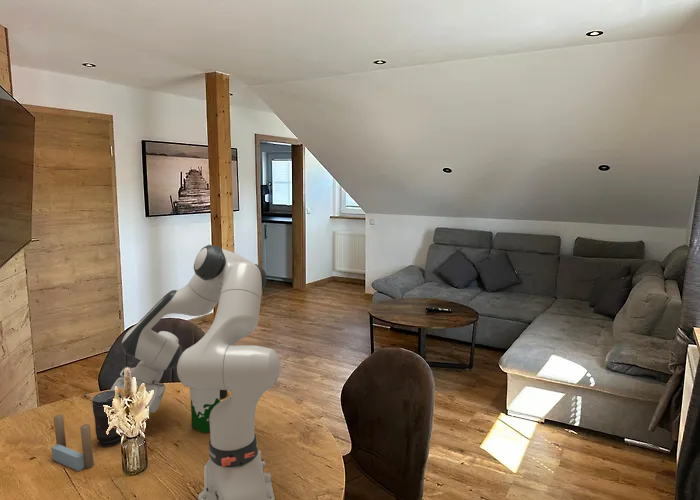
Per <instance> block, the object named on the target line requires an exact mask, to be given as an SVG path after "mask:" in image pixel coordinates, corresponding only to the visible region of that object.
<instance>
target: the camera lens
mask: <svg viewBox="0 0 700 500" xmlns="http://www.w3.org/2000/svg"><path fill="white" fill-rule="evenodd" d="M114 396H115V390H111V389H110V390H104V391H102V392H99V393H97V394H95V395H94V396H93V397H92V402H91V403H92V412H93V417H94V427H95V435H96V440H97V441H98V444H99V446H101V447H111V446H115V445H118V444H120V443H121V442H122V441H121V436H120V435H118V434H117V433H116V431H115V429H114V428H112V429H111V430H110V431H109V434H108V435H107V434H106V431H107V429H108V427H109V425H108V417H107V414H106V413H105V412H104V407H103V405H108V406H110V407H112V401H113V398H114ZM119 397H120V398H122V396H121V394H120V392H119ZM111 413H112V414H113V413H114V412H111Z"/></svg>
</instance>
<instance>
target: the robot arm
mask: <svg viewBox="0 0 700 500" xmlns="http://www.w3.org/2000/svg"><path fill="white" fill-rule="evenodd" d="M193 271H194V275H193V276H192V277H191V279H190V280H189V281H188V283H187V284H186V285H185V286H183V287H181V288H180V289H172V290H170V291H169V292H168V293H165V295H163V297H162V298H161V299H160V300H158V302H157V303H155V305H154V306H153V307H152V308H151V309H150V310H149V311H148V312H147V313H146V314H145V315H144V316H143V317H142V318H141V319H140V320H139V321H138V322H136V324H134V325H133V327H131V328H130V329H129V330H128V331H127V332H126V333H125V335H123V338H122V340H121V342H120V345H121V347H122V348H121V349H122V350H123V353H124V355H126V356H129V357H131V358H136V359H137V360H140V361H139V362H138V363H137V365H136V366H135V367H131V368H129V369H130V370H131V375H132V376H133V377H136V381H137V386H138V387H139V386H140V385H141V384H142V383H145V387H146V391H147V392H149V391H151V390H154V395H153V397H152V399H151V400H150V402H149V411H148V412H149V413H151V414H152V413H155V412H156V411H158V409H159V407H160V405H161V403H162V399H163V396H164V393H165V391H166V385H165V383H164V382H160V381H161V379H162V377H163V376H164V375H163V374H164V371H169V370H172V369H175V368H176V374H177V377H178V379H179V381H180V383H181V384H182V385H183V386H185V387H187V388H190V387H191V388H196V389H201V390H227V391H230V394H231V396H229V397H227V398H225V399H224V398H223V399H222V400H220V402H219V403H218V404H217V405H215V406H214V408H213V409H212V411H211V413H210V417H209V421H210V432H209V436H210V440H209V442H208V452H209V453H208V454H209V459H208V461H207V462H206V464H205V465H204V468H203V472H204V473H203V477H204V478H203V481H204V482H203V483H204V484H203V485H204V486H203V487H204V489H203V490H202V491H201V492H199V494H198V495H197V496H198V498H197V500H275V499H276V498H275V494H274V490H273V484H272V476H271V472H266V471H264V469H263V468H265V467H267V466H266V465H267V463H266V461H265V460H262V450H259V448H258V439H257V435H256V433H255V416H256V407H257V405H258V403H259V401H260V400H261V397H262V396H263V395H264V393H266V391H268V390H269V389H271V388H272V387H273V386H274V385H275V384H276V383H277V381H278V380H279V378H280V376H281V370H282V365H281V364H282V363H281V359H280V357H279V354H278V353H277V351H275V350H274V349H273V348H271V347H265V346H261V345H245V344H244V345H240V344H239V345H237V343H238V342H239V341H241V340H242V339H243V338H245V337H248V336H249V335H251V334H252V333H253V332H254V331H255V329H256V328H257V327H258V325H259V318H260V309H261V303H262V291H263V290H264V288H265V286H266V283H267V272H266V271H265V270H264V268H262V267H261V266H260V265H258V264H257V263H253V262H251V261H250V260H248V259H246V258H245V257H243V256H241V255H240V254H238V253H236V252H233V251H231V250H228V249H224V248H222V247H221V246H218V245H213V244H208V245H206V246H203V247H202V248H201V249H200V250H199V252H198V253H197V254H196V257H195V260H194V262H193ZM217 304H218V305H217ZM215 307H217V310H216V313H215V315H214V319H213V322H212V324H211V326H210V328H209V329H208V330H207V332H206V333H204V336H202V337H201V338H200V339H199V340H198V341H197V342H196V343H195V344H192V345H191V346H189V347H188V348H186V349H185V350H184V351H183V349H182V346H181V344H179V338H178V336H176V335H175V334H174V333H172V332H169V331H166V330H165V331H164V330H162V331H161V330H160V331H159V332H156V331H155V330H152V329H153V327H155V325H156V324H157V323H158V322H159V321H160V320H161V319H162V318H163V317H165V316H166V315H172V314H173V315H174V314H176V315H177V314H178V315H186V316H189V317H200V316H204V315H207V314H209V313H210V312H212V311H213V309H215ZM124 370H125V369H123V370H121V371H120V373H119V376H120V377H118V378H117V379H116V380H115V382H114V383H113V385H112V386H111V388H110V390H114V388H115V386H117V387H118V388H123V386H124ZM120 394H121V393H120ZM121 396H122V395H121Z"/></svg>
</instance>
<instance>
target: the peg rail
mask: <svg viewBox="0 0 700 500" xmlns="http://www.w3.org/2000/svg"><path fill="white" fill-rule="evenodd" d="M53 423H54V424H53V425H54V433H55V443H56V444H55V445H53V446H51V447H50V448H51V457H52V458H51V459H52V461H55V462H56V463H59V464H60V465H63V466H66V467H67V468H70V469H71V470H75V471H76V472H80V471H81V470H83V469H91V468H92V467H94V465H95V463H94V454H93V443H92V441H93V440H92V433H91V432H92V431H91V430H92V429H91V424H90V423H89V424H83V425H81V426H80V437H81V438H80V439H81V445H82V446H81V447H82V452H79V451H77V450H74V449H72V448H69V447H68V446H67V441H66V439H67V438H66V431H65V430H66V429H65V421H64V415H63V414H57V415H55V416H53Z"/></svg>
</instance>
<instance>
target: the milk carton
mask: <svg viewBox="0 0 700 500" xmlns="http://www.w3.org/2000/svg"><path fill="white" fill-rule="evenodd" d="M189 396H190V413H191V428H193V429H195V430H197V431H198V432H200V433H203V434H208V433H210V421H209V417H210V413H211V411H212V409H213V408H214V406H215V405H217V404H218V403H219V402H221V399H220V390H201V389H196V388H191V387H189Z"/></svg>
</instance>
